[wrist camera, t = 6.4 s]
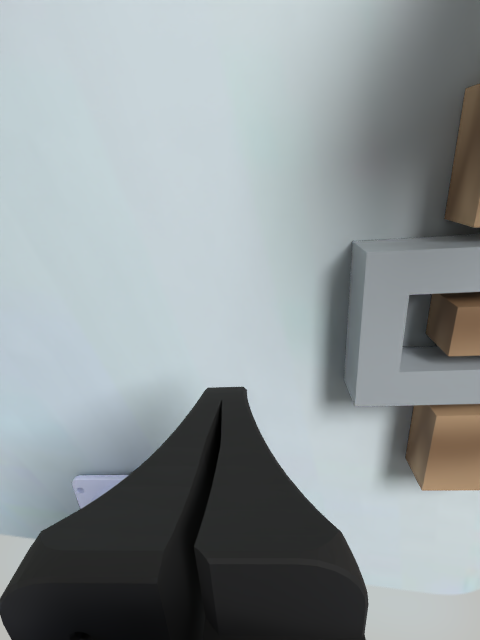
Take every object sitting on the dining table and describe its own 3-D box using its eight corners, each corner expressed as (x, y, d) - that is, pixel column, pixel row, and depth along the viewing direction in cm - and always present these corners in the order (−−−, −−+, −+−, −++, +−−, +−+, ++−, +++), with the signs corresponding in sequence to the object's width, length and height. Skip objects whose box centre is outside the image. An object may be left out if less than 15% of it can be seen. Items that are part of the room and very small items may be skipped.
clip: (469, 376, 20) (497, 403, 18) (343, 380, 21) (354, 406, 18) (501, 233, 17) (539, 243, 15) (352, 241, 18) (367, 252, 15)
